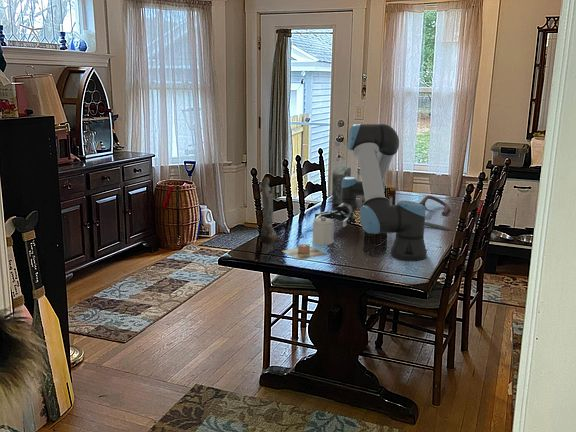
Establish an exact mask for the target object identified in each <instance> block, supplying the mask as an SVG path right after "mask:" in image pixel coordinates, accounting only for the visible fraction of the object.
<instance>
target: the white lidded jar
mask: <svg viewBox="0 0 576 432" xmlns="http://www.w3.org/2000/svg"><path fill="white" fill-rule="evenodd" d="M334 225H335V223H334V219H330V218H326V217H321V218H316V219H315V218H314V219H313V222H312V243H313V244H314V245H318V246H319V245H320V246H327V245H328V246H329V245H330V246H331V245H332V244H334V229H335V227H334Z"/></svg>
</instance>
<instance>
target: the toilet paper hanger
mask: <svg viewBox="0 0 576 432" xmlns="http://www.w3.org/2000/svg"><path fill="white" fill-rule="evenodd" d="M428 200H432V201H434V202H437V203H439V204H440V205H442V206H443V207H444V210H443V211H442V212H441V216H443V217H444V216H446V215H447V213H448V211H449V210H450V207H449V205H448V203H446V202H445V201H443V200H442V199H439V198H438V197H435V196H433V195H425V196H424V197H423V199H422V200H421V201H420V202H418V203H419V204H422V205H423V206H424V207H425V210H427V209H428V208H427V206H426V203H427V201H428Z"/></svg>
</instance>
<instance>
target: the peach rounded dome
mask: <svg viewBox="0 0 576 432" xmlns="http://www.w3.org/2000/svg"><path fill="white" fill-rule="evenodd" d="M310 247H311V245H309V244H308V243H307V244H306V243H305V244H304V243H300V244H298V245H297V248H298V253H299V254H309V253H310Z"/></svg>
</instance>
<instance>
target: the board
mask: <svg viewBox="0 0 576 432" xmlns="http://www.w3.org/2000/svg"><path fill="white" fill-rule="evenodd" d="M281 252H282V253H284V254H286V255H288V256H290V257H293V258H295V259H296V260H299V261H301V260H307V259H312V258H315V257H316V258H317V257H320V256H325V255H327V253H325V252H322V251H320V250H318V249H316V248H314V247H311V246H310V253H309V254H299V253H298V247H294V248H289V249H284V250H281Z"/></svg>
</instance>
